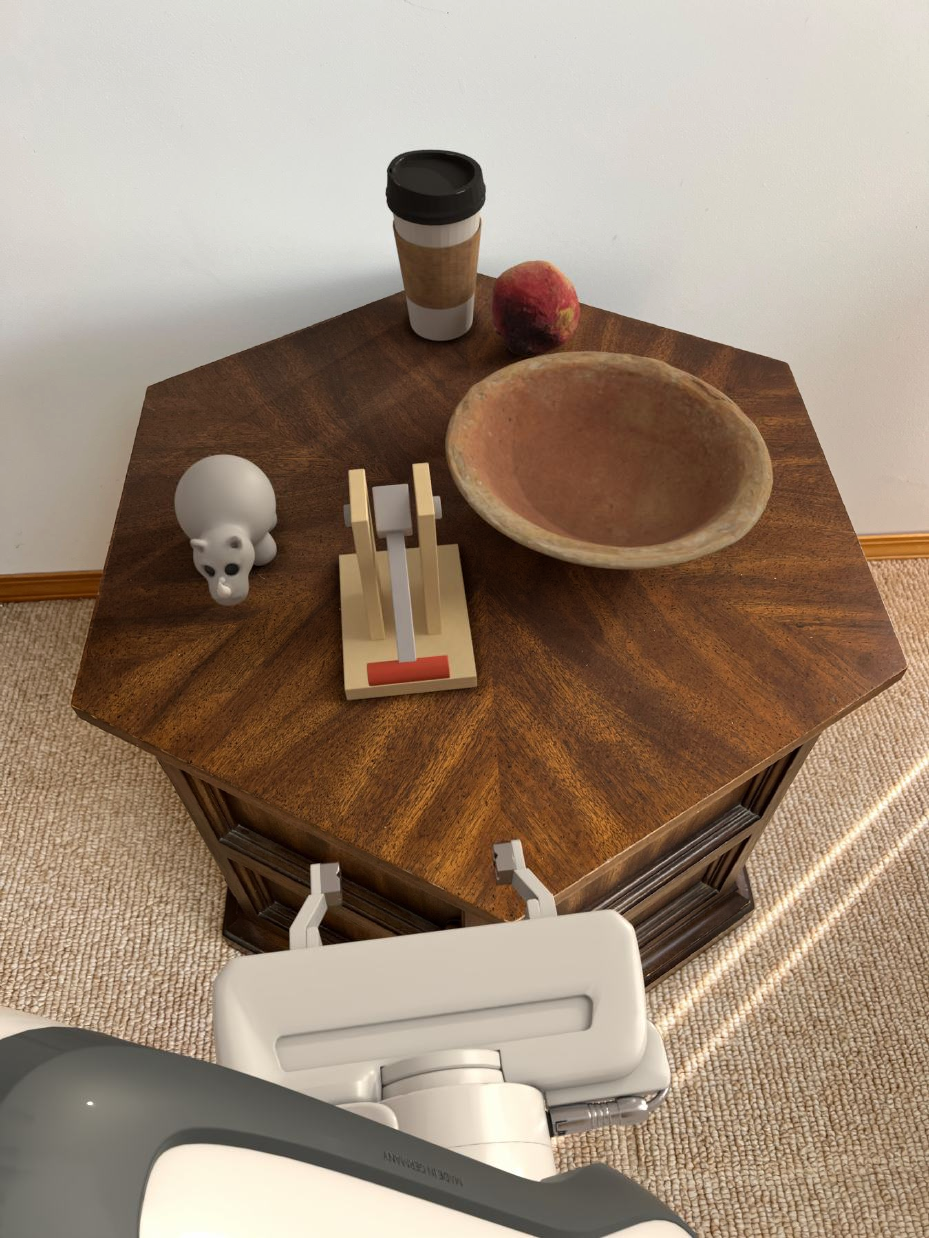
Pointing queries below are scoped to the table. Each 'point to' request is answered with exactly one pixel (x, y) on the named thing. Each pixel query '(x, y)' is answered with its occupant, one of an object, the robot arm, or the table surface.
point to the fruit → (534, 308)
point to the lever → (400, 594)
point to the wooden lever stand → (431, 598)
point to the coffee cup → (437, 237)
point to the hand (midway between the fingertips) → (416, 855)
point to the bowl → (608, 460)
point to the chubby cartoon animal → (227, 522)
